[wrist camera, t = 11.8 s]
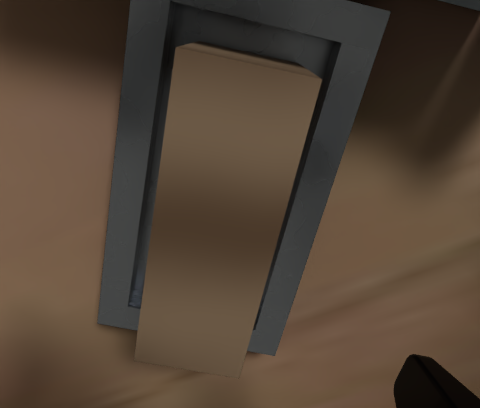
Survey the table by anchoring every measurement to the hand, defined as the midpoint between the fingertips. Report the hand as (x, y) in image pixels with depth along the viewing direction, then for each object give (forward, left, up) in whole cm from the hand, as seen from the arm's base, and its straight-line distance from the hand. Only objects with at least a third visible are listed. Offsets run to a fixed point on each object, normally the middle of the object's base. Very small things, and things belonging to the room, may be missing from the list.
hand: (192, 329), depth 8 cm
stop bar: (0, 0, -9) cm, 9 cm away
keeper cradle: (0, 0, -9) cm, 9 cm away
